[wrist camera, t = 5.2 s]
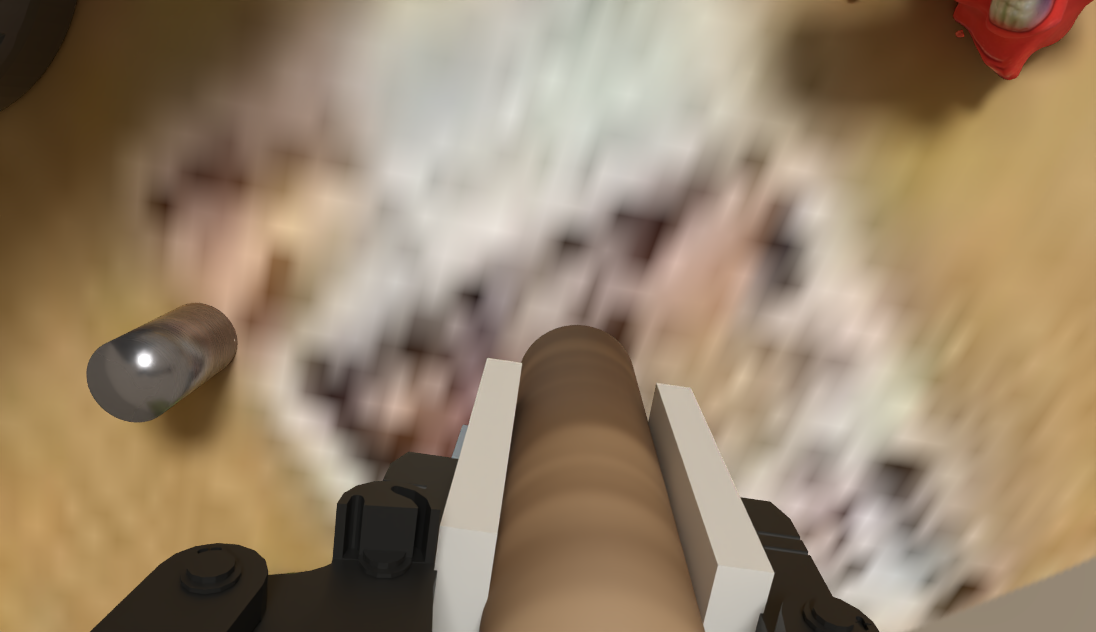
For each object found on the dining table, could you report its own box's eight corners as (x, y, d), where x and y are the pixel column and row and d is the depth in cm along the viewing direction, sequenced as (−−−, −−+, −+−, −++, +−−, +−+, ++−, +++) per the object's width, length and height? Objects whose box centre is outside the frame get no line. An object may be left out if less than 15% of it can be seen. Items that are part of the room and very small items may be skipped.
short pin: (164, 297, 30) (85, 333, 25) (238, 309, 30) (175, 346, 25) (163, 367, 31) (87, 415, 26) (235, 378, 31) (173, 428, 26)
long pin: (526, 317, 19) (472, 663, 7) (644, 334, 19) (776, 704, 7) (510, 425, 20) (439, 891, 8) (623, 441, 20) (713, 926, 8)
